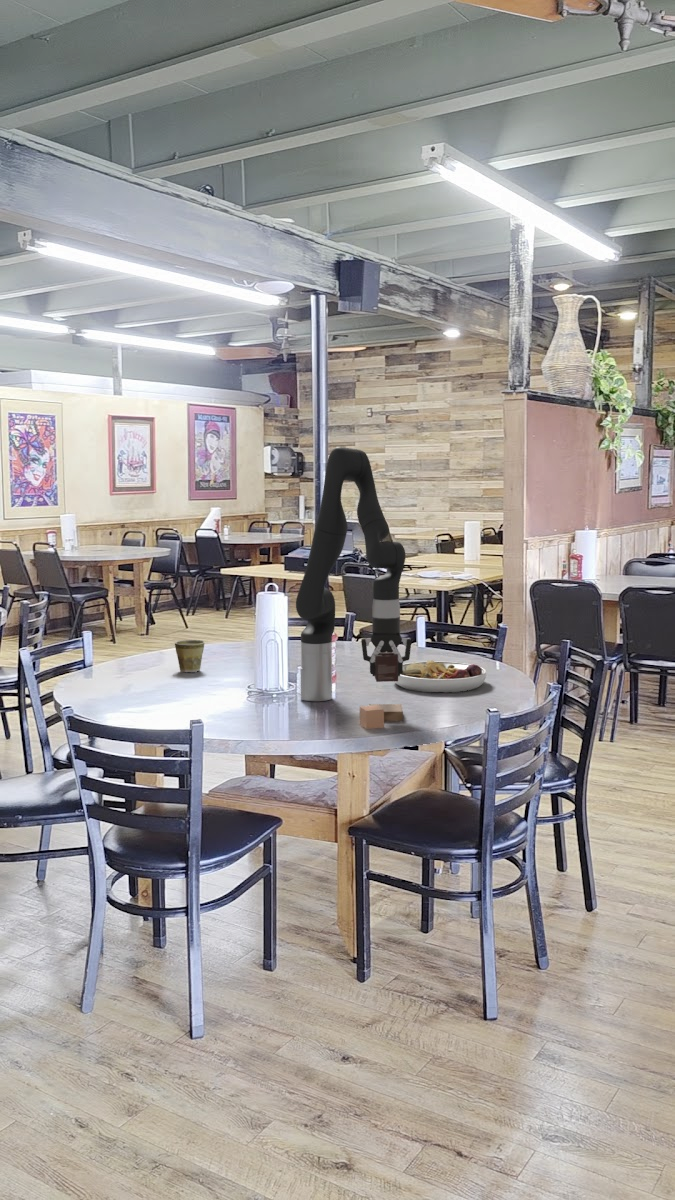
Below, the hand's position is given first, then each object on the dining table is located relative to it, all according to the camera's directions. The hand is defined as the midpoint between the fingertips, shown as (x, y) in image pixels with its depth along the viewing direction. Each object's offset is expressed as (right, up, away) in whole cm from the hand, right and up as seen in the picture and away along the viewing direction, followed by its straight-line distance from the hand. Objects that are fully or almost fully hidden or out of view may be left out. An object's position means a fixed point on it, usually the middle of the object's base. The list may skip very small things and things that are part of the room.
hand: (386, 675), depth 276 cm
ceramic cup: (-64, -4, +69) cm, 94 cm away
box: (0, -1, 0) cm, 1 cm away
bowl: (+19, -7, +45) cm, 49 cm away
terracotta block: (-4, -13, -8) cm, 16 cm away
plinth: (0, -12, +1) cm, 12 cm away
